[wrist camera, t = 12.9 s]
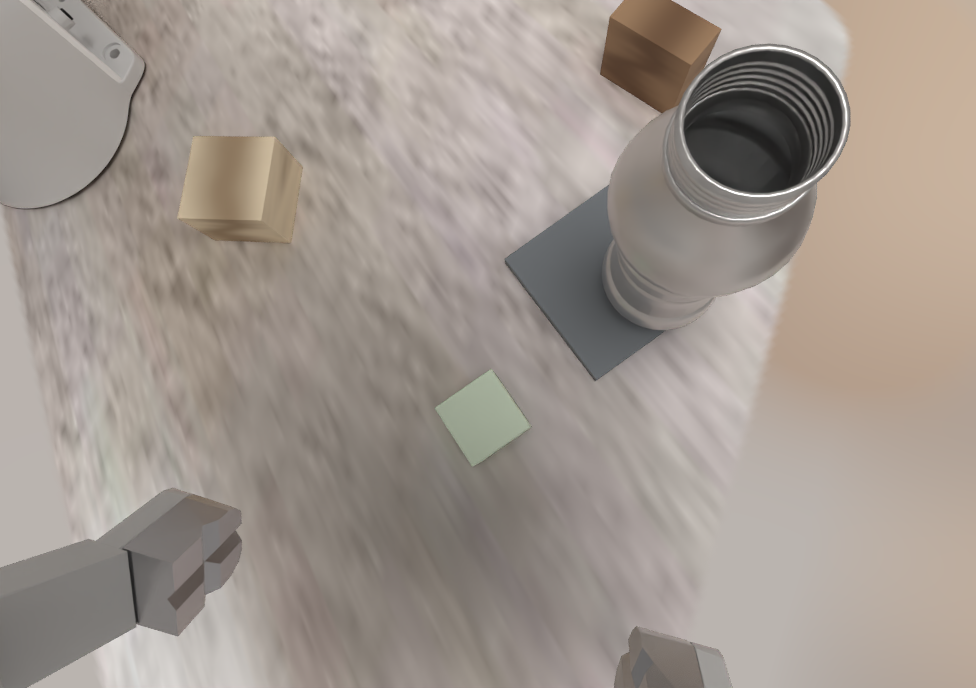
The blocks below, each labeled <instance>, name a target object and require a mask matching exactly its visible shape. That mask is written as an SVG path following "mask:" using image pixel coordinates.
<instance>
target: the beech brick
mask: <svg viewBox="0 0 976 688" xmlns="http://www.w3.org/2000/svg"><path fill="white" fill-rule="evenodd" d="M302 169H303V167H302V166H301V165H300V164H299V163H298V161H297V160H296V159H295V158H294V157H293V156H292V155H291V154H290V153H289V152H288V150H287V149H286V148H285V147H284V146H283V145H282V144H281V143H280V142H279V141H278V139H277V138H276V137H224V136H193V141H192V146H191V151H190V156H189V161H188V166H187V171H186V176H185V181H184V186H183V191H182V196H181V202H180V207H179V212H178V217H177V218H178V219H179V220H181V221H183V222H185V223H186V224H188V225H190V226H192V227H193V228H195V229H197V230H198V231H200V232H202V233H204V234H205V235H207V236H209V237H210V238H212V239H214V240H222V241H251V242H280V243H291V240H292V234H293V227H294V221H295V214H296V208H297V201H298V195H299V188H300V182H301V175H302Z"/></svg>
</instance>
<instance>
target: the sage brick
mask: <svg viewBox="0 0 976 688" xmlns="http://www.w3.org/2000/svg"><path fill="white" fill-rule="evenodd" d="M435 410H436V411H437V413H438V414H439V416H440V417H441V419H442V421H443V422H444V424H445V425H446V427H447V428H448V430H449V431H450V433H451V435H452V436H453V438H454V439H455V441H456V442H457V444H458V445H459V447H460V449H461V450H462V452H463V453H464V455H465V456H466V458H467V459H468V461H469V463H470V464H471V466H472V467H474V466H475V465H477V464H479V463H481V462H482V461H484V460H485V459H487V458H488V457H490V456H491V455H492V454H494V453H495V452H497V451H498V450H500V449H501V448H503V447H504V446H505V445H507V444H508V443H510V442H511V441H513V440H514V439H516V438H517V437H518V436H520V435H521V434H523V433H524V432H526V431H527V430H529V429H530V428H531V427H532V426H531V425H530V423H529V422H528V420H527V419H526V417H525V416H524V414H523V413H522V411H521V410H520V409H519V407H518V406H517V404H516V403H515V401H514V400H513V398H512V397H511V395H510V394H509V393H508V391H507V390H506V388H505V387H504V385H503V384H502V382H501V381H500V379H499V378H498V376H497V375H496V374H495V373H494V372H493V370H492V369H490V370H489V371H487V372H486V373H484V374H483V375H482V376H480V377H479V378H477V379H476V380H474V381H473V382H471V383H470V384H468V385H467V386H466V387H464V388H463V389H461V390H460V391H458V392H457V393H455V394H454V395H453V396H451V397H450V398H448V399H447V400H445V401H444V402H442V403H441V404H440V405H438V406H437V407H435Z"/></svg>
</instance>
